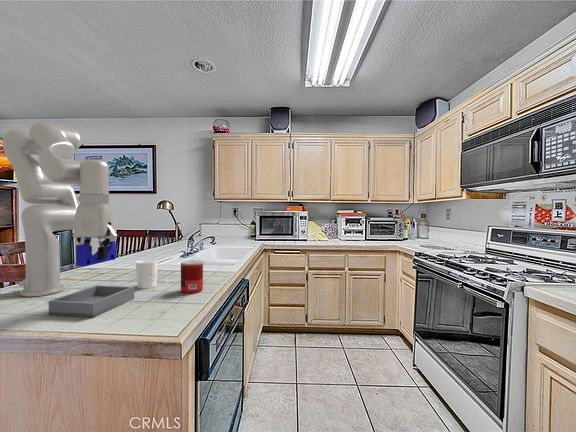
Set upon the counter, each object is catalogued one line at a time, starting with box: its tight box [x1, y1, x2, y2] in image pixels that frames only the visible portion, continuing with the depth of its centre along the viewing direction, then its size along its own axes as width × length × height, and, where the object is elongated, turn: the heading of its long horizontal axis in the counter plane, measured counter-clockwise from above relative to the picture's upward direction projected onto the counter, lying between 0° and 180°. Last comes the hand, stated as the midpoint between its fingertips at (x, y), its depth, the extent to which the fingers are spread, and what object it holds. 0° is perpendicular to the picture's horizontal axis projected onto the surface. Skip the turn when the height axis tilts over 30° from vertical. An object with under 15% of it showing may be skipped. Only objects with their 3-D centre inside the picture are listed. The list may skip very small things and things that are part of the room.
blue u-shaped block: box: [75, 240, 117, 267], centre depth 92 cm, size 12×4×6 cm, turn 170°
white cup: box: [135, 259, 159, 290], centre depth 116 cm, size 8×8×10 cm
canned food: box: [180, 259, 204, 295], centre depth 111 cm, size 8×8×11 cm
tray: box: [48, 284, 135, 319], centre depth 93 cm, size 14×18×4 cm
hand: (94, 258), depth 92 cm, fingers closed on blue u-shaped block, 4 cm apart
